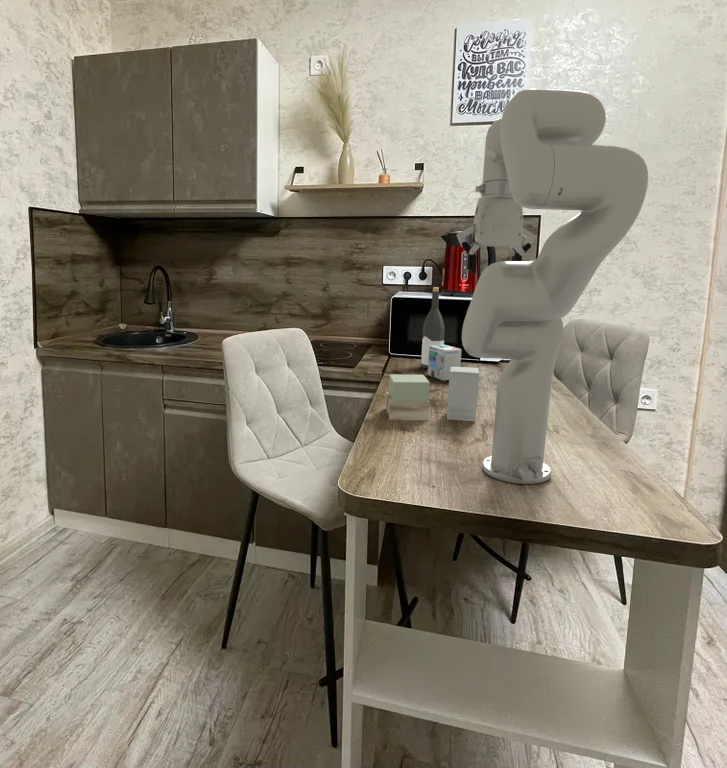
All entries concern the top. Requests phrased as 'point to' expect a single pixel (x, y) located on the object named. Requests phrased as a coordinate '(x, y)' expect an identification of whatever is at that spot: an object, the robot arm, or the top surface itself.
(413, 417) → the tower base
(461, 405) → the supplement box
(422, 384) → the tower top
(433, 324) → the wine bottle
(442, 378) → the light bulb box
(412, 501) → the top surface
